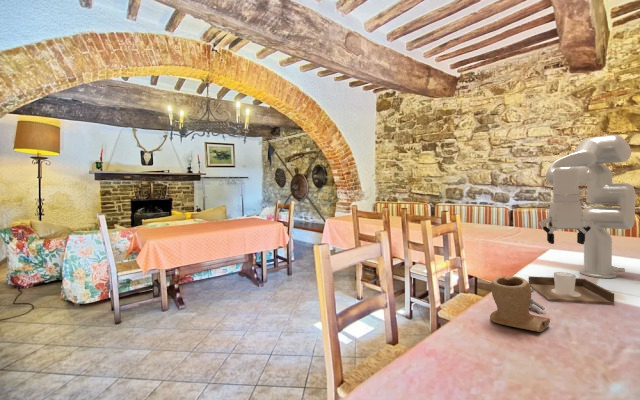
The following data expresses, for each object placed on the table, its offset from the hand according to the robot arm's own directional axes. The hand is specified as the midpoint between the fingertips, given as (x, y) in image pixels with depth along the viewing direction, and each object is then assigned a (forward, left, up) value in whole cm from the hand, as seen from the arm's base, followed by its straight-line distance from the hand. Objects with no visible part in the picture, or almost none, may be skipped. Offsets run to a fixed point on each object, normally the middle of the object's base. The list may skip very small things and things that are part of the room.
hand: (565, 243), depth 116 cm
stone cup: (+27, +32, -20) cm, 47 cm away
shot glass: (0, 0, -19) cm, 19 cm away
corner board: (-1, -1, -20) cm, 20 cm away
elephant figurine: (+18, +17, -21) cm, 32 cm away
